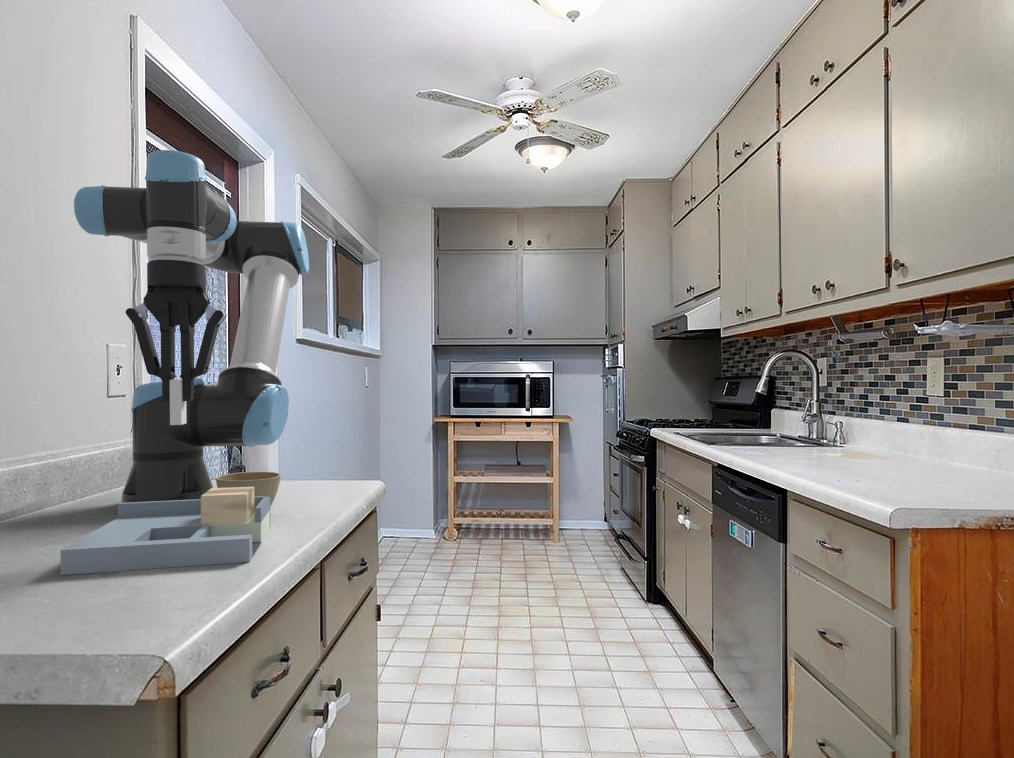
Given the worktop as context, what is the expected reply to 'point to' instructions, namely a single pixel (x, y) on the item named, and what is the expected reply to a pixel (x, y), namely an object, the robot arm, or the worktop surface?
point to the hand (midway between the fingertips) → (178, 424)
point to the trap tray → (166, 538)
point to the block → (227, 505)
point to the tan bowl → (252, 482)
